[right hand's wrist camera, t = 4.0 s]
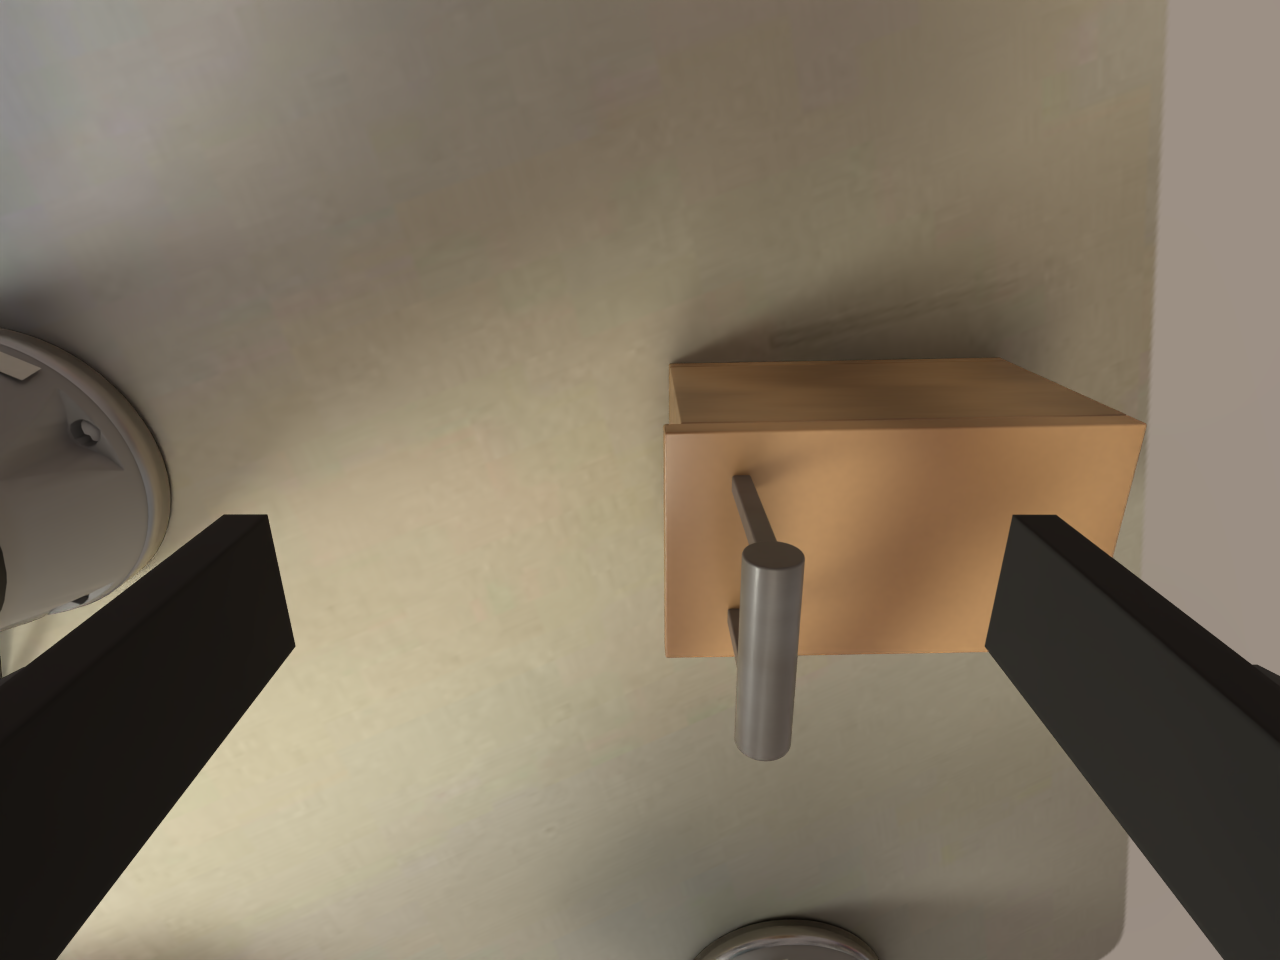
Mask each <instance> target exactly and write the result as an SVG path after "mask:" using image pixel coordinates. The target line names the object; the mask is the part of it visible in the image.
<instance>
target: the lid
mask: <svg viewBox="0 0 1280 960" xmlns="http://www.w3.org/2000/svg"><path fill="white" fill-rule="evenodd" d="M1146 426H1147V425H1146V423H1143V422H1141V421H1139V420H1137V419H1134V418H1132V417H1130V416H1082V417H1027V418H973V419H919V420H865V421H811V422H756V423H702V424H665V425H664V426H663V449H664V623H665V655H666V657H667V658H674V657H730V656H735V660H736V665H737V687H736V712H735V737H734V738H735V743H736V745H737V747H738V749H739V750H740V751H741V752H742V753H743V754H745V755H746V756H748V757H750V758H752V759H755V760H760V761H772V760H777V759H779V758H781V757H783V756H784V755H785V754H786V753H787V752H788V751H789V749H790V746H791V734H792V721H793V708H794V696H795V683H796V670H797V657H798V655H842V654H899V653H955V652H988V650H987V649H986V648H985V642H986V637H987V632H988V628H989V623H990V618H991V613H992V609H993V604H994V599H995V595H996V590H997V585H998V581H999V576H1000V571H1001V567H1002V562H1003V557H1004V553H1005V548H1006V543H1007V539H1008V534H1009V529H1010V524H1011V520H1012V515H1057V516H1059V517H1060V518H1061V519H1063V520H1064V521H1065V522H1066V523H1068V524H1069V525H1070V526H1072V527H1073V528H1074V529H1076V530H1077V531H1078V532H1079V533H1081V534H1082V535H1083V536H1085V537H1086V538H1087V539H1089V540H1090V541H1091V542H1093V543H1094V544H1095V545H1096V546H1098V547H1099V548H1100V549H1102V550H1103V551H1104V552H1106V553H1107V554H1108V555H1109V556H1111V557H1112V558H1113V554H1114V550H1115V546H1116V542H1117V539H1118V535H1119V531H1120V527H1121V523H1122V519H1123V515H1124V511H1125V508H1126V504H1127V500H1128V496H1129V492H1130V488H1131V484H1132V481H1133V477H1134V473H1135V469H1136V465H1137V461H1138V457H1139V454H1140V450H1141V446H1142V442H1143V438H1144V434H1145V430H1146Z"/></svg>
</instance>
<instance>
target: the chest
mask: <svg viewBox="0 0 1280 960" xmlns="http://www.w3.org/2000/svg"><path fill="white" fill-rule="evenodd" d="M1082 416H1126V414H1124V413H1122V412H1119V411H1117V410H1115V409H1113V408H1110V407H1108V406H1106V405H1104V404H1101V403H1099V402H1097V401H1095V400H1093V399H1090V398H1088V397H1086V396H1084V395H1081V394H1079V393H1077V392H1075V391H1073V390H1070V389H1068V388H1066V387H1064V386H1061V385H1059V384H1057V383H1055V382H1053V381H1050V380H1048V379H1046V378H1044V377H1041V376H1039V375H1037V374H1035V373H1033V372H1030V371H1028V370H1026V369H1024V368H1021V367H1019V366H1017V365H1015V364H1012V363H1010V362H1008V361H1006V360H1004V359H1002V358H952V359H898V360H845V361H791V362H738V363H684V364H669V424H702V423H756V422H811V421H865V420H919V419H973V418H1027V417H1082Z"/></svg>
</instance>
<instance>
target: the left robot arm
mask: <svg viewBox="0 0 1280 960" xmlns="http://www.w3.org/2000/svg"><path fill="white" fill-rule="evenodd" d="M694 960H879V959H878V957H877V955H876V954H875V953H874V951H873V950H872V949H871V948H870V947H869V946H868V945H867V944H866V943H865V942H864V941H862V940H861V939H860V938H858V937H857V936H855V935H853V934H851V933H850V932H848V931H846V930H843V929H841V928H839V927H836V926H832V925H829V924H825V923H821V922H816V921H809V920H790V919H788V920H774V921H767V922H761V923H757V924H753V925H749V926H746V927H743V928H740V929H737V930H735V931H732V932H730V933H728V934H726V935H724V936H722V937H720V938H719V939H717V940H715V941H714V942H712V943H711V944H710V945H708V946H707V947H706V948H705V949H703V950H702V951H701V952H700V953H699V954H698V955H697V956H696V958H695V959H694Z"/></svg>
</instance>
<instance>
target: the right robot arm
mask: <svg viewBox="0 0 1280 960" xmlns="http://www.w3.org/2000/svg"><path fill="white" fill-rule="evenodd" d="M170 502H171V501H170V487H169V481H168V475H167V472H166V468H165V465H164V461H163V459H162V456H161V454H160V451H159V448H158V446H157V444H156V442H155V440H154V438H153V436H152V434H151V433H150V431H149V430H148V428H147V426H146V425H145V423H144V421H143V420H142V419H141V417H140V416H139V414H138V413H137V412H136V410H135V409H134V408H133V407H132V405H131V404H130V403H129V402H128V401H127V400H126V398H125V397H124V396H123V395H122V394H121V393H120V392H119V391H118V390H117V389H116V388H115V387H114V386H113V385H112V384H111V383H110V382H108V381H107V380H106V379H105V378H104V377H103V376H102V375H100V374H99V373H98V372H96V371H95V370H94V369H92V368H91V367H90V366H88V365H87V364H86V363H84V362H82V361H81V360H79V359H78V358H76V357H75V356H73V355H71V354H70V353H68V352H66V351H64V350H62V349H60V348H59V347H57V346H54V345H52V344H50V343H48V342H45V341H43V340H41V339H38V338H35V337H32V336H30V335H27V334H24V333H20V332H16V331H12V330H8V329H3V328H0V631H3V630H6V629H10V628H13V627H16V626H19V625H22V624H25V623H28V622H31V621H34V620H36V619H39V618H41V617H43V616H45V615H49V614H56V613H60V612H64V611H68V610H71V609H75V608H78V607H82V606H85V605H88V604H90V603H93V602H95V601H98V600H100V599H101V598H103V597H105V596H107V595H108V594H110V593H111V592H113V591H114V590H115V589H117V588H118V587H119V586H121V585H122V584H123V583H125V582H126V581H127V580H129V579H130V578H131V577H133V576H134V575H135V574H136V573H138V572H139V571H140V570H141V569H142V568H143V567H144V566H145V565H147V563H148V562H149V561H150V560H151V559H152V557H153V556H154V555H155V553H156V552H157V550H158V548H159V547H160V545H161V543H162V540H163V538H164V536H165V533H166V529H167V526H168V521H169V516H170ZM294 648H295V642H294V637H293V632H292V628H291V623H290V618H289V613H288V609H287V604H286V599H285V595H284V590H283V585H282V581H281V576H280V571H279V567H278V562H277V557H276V553H275V548H274V543H273V539H272V534H271V529H270V524H269V520H268V515H223V516H221V517H220V518H219V519H217V520H216V521H215V522H214V523H212V524H211V525H210V526H208V527H207V528H206V529H204V530H203V531H202V532H201V533H199V534H198V535H197V536H195V537H194V538H193V539H191V540H190V541H189V542H187V543H186V544H185V545H184V546H182V547H181V548H180V549H178V550H177V551H176V552H174V553H173V554H172V555H171V556H169V557H168V558H167V559H165V560H164V561H163V562H161V563H160V564H159V565H157V566H156V567H155V568H154V569H152V570H151V571H150V572H148V573H147V574H146V575H144V576H143V577H142V578H141V579H139V580H138V581H137V582H135V583H134V584H133V585H131V586H130V587H129V588H127V589H126V590H125V591H124V592H122V593H121V594H120V595H118V596H117V597H116V598H114V599H113V600H112V601H111V602H109V603H108V604H107V605H105V606H104V607H103V608H101V609H100V610H99V611H98V612H96V613H95V614H94V615H92V616H91V617H90V618H88V619H87V620H86V621H84V622H83V623H82V624H81V625H79V626H78V627H77V628H75V629H74V630H73V631H71V632H70V633H69V634H68V635H66V636H65V637H64V638H62V639H61V640H60V641H58V642H57V643H56V644H54V645H53V646H52V647H51V648H49V649H48V650H47V651H45V652H44V653H43V654H41V655H40V656H39V657H38V658H36V659H35V660H34V661H32V662H31V663H30V664H28V665H27V666H26V667H23V668H21V669H19V670H17V671H15V672H13V673H11V674H9V675H7V676H6V677H4V678H2V671H1V658H0V960H56V959H57V958H58V957H59V955H60V954H61V953H62V951H63V950H64V949H65V947H66V946H67V945H68V943H69V942H70V941H71V940H72V938H73V937H74V936H75V934H76V933H77V932H78V930H79V929H80V928H81V926H82V925H83V924H84V923H85V921H86V920H87V919H88V917H89V916H90V915H91V913H92V912H93V911H94V909H95V908H96V907H97V906H98V904H99V903H100V902H101V900H102V899H103V898H104V896H105V895H106V894H107V892H108V891H109V890H110V888H111V887H112V886H113V885H114V883H115V882H116V881H117V879H118V878H119V877H120V875H121V874H122V873H123V871H124V870H125V869H126V868H127V866H128V865H129V864H130V862H131V861H132V860H133V858H134V857H135V856H136V854H137V853H138V852H139V851H140V849H141V848H142V847H143V845H144V844H145V843H146V841H147V840H148V839H149V837H150V836H151V835H152V834H153V832H154V831H155V830H156V828H157V827H158V826H159V824H160V823H161V822H162V820H163V819H164V818H165V817H166V815H167V814H168V813H169V811H170V810H171V809H172V807H173V806H174V805H175V803H176V802H177V801H178V799H179V798H180V797H181V796H182V794H183V793H184V792H185V790H186V789H187V788H188V786H189V785H190V784H191V782H192V781H193V780H194V779H195V777H196V776H197V775H198V773H199V772H200V771H201V769H202V768H203V767H204V765H205V764H206V763H207V762H208V760H209V759H210V758H211V756H212V755H213V754H214V752H215V751H216V750H217V748H218V747H219V746H220V745H221V743H222V742H223V741H224V739H225V738H226V737H227V735H228V734H229V733H230V731H231V730H232V729H233V728H234V726H235V725H236V724H237V722H238V721H239V720H240V718H241V717H242V716H243V714H244V713H245V712H246V710H247V709H248V708H249V707H250V705H251V704H252V703H253V701H254V700H255V699H256V697H257V696H258V695H259V693H260V692H261V691H262V690H263V688H264V687H265V686H266V684H267V683H268V682H269V680H270V679H271V678H272V676H273V675H274V674H275V673H276V671H277V670H278V669H279V667H280V666H281V665H282V663H283V662H284V661H285V659H286V658H287V657H288V656H289V654H290V653H291V652H292V650H293V649H294ZM985 648H986V649H987V650H988V652H989V653H990V654H991V656H992V657H993V658H994V659H995V661H996V662H997V663H998V665H999V666H1000V667H1001V669H1002V670H1003V671H1004V673H1005V674H1006V675H1007V676H1008V678H1009V679H1010V680H1011V682H1012V683H1013V684H1014V686H1015V687H1016V688H1017V690H1018V691H1019V692H1020V693H1021V695H1022V696H1023V697H1024V699H1025V700H1026V701H1027V703H1028V704H1029V705H1030V707H1031V708H1032V709H1033V710H1034V712H1035V713H1036V714H1037V716H1038V717H1039V718H1040V720H1041V721H1042V722H1043V724H1044V725H1045V726H1046V728H1047V729H1048V730H1049V731H1050V733H1051V734H1052V735H1053V737H1054V738H1055V739H1056V741H1057V742H1058V743H1059V745H1060V746H1061V747H1062V748H1063V750H1064V751H1065V752H1066V754H1067V755H1068V756H1069V758H1070V759H1071V760H1072V762H1073V763H1074V764H1075V765H1076V767H1077V768H1078V769H1079V771H1080V772H1081V773H1082V775H1083V776H1084V777H1085V779H1086V780H1087V781H1088V782H1089V784H1090V785H1091V786H1092V788H1093V789H1094V790H1095V792H1096V793H1097V794H1098V796H1099V797H1100V798H1101V799H1102V801H1103V802H1104V803H1105V805H1106V806H1107V807H1108V809H1109V810H1110V811H1111V813H1112V814H1113V815H1114V817H1115V818H1116V819H1117V820H1118V822H1119V823H1120V824H1121V826H1122V827H1123V828H1124V830H1125V831H1126V832H1127V834H1128V835H1129V836H1130V837H1131V839H1132V840H1133V841H1134V843H1135V844H1136V845H1137V847H1138V848H1139V849H1140V850H1141V852H1142V853H1143V854H1144V856H1145V857H1146V858H1147V860H1148V861H1149V862H1150V864H1151V865H1152V866H1153V868H1154V869H1155V870H1156V871H1157V873H1158V874H1159V875H1160V877H1161V878H1162V879H1163V881H1164V882H1165V883H1166V885H1167V886H1168V887H1169V888H1170V890H1171V891H1172V892H1173V894H1174V895H1175V896H1176V898H1177V899H1178V900H1179V902H1180V903H1181V904H1182V905H1183V907H1184V908H1185V909H1186V911H1187V912H1188V913H1189V915H1190V916H1191V917H1192V919H1193V920H1194V921H1195V922H1196V924H1197V925H1198V926H1199V928H1200V929H1201V930H1202V932H1203V933H1204V934H1205V936H1206V937H1207V938H1208V939H1209V941H1210V942H1211V943H1212V945H1213V946H1214V947H1215V949H1216V950H1217V951H1218V953H1219V954H1220V955H1221V957H1222V958H1223V959H1224V960H1280V676H1279V675H1277V674H1275V673H1273V672H1271V671H1269V670H1267V669H1265V668H1263V667H1261V666H1259V665H1252V664H1250V663H1249V662H1248V661H1246V660H1245V659H1244V658H1242V657H1241V656H1240V655H1239V654H1237V653H1236V652H1235V651H1233V650H1232V649H1231V648H1229V647H1228V646H1227V645H1226V644H1224V643H1223V642H1222V641H1220V640H1219V639H1218V638H1216V637H1215V636H1214V635H1212V634H1211V633H1210V632H1209V631H1207V630H1206V629H1205V628H1203V627H1202V626H1201V625H1199V624H1198V623H1197V622H1196V621H1194V620H1193V619H1192V618H1190V617H1189V616H1188V615H1186V614H1185V613H1184V612H1182V611H1181V610H1180V609H1179V608H1177V607H1176V606H1175V605H1173V604H1172V603H1171V602H1169V601H1168V600H1167V599H1166V598H1164V597H1163V596H1162V595H1160V594H1159V593H1158V592H1156V591H1155V590H1154V589H1152V588H1151V587H1150V586H1148V585H1147V584H1146V583H1145V582H1143V581H1142V580H1141V579H1139V578H1138V577H1137V576H1136V575H1134V574H1133V573H1132V572H1130V571H1129V570H1128V569H1126V568H1125V567H1124V566H1123V565H1121V564H1120V563H1119V562H1117V561H1116V560H1115V559H1113V558H1112V557H1111V556H1109V555H1108V554H1107V553H1106V552H1104V551H1103V550H1102V549H1100V548H1099V547H1098V546H1096V545H1095V544H1094V543H1093V542H1091V541H1090V540H1089V539H1087V538H1086V537H1085V536H1083V535H1082V534H1081V533H1079V532H1078V531H1077V530H1076V529H1074V528H1073V527H1072V526H1070V525H1069V524H1068V523H1066V522H1065V521H1064V520H1063V519H1061V518H1060V517H1059V516H1057V515H1012V520H1011V524H1010V529H1009V534H1008V539H1007V543H1006V548H1005V553H1004V557H1003V562H1002V567H1001V571H1000V576H999V581H998V585H997V590H996V595H995V599H994V604H993V609H992V613H991V618H990V623H989V628H988V632H987V637H986V642H985Z"/></svg>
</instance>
